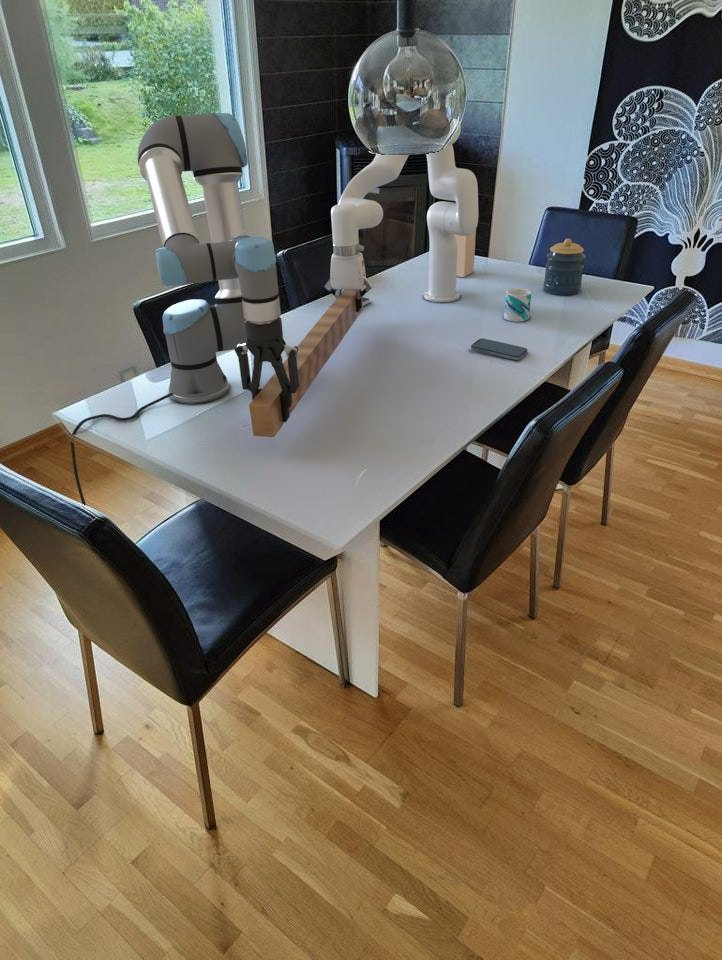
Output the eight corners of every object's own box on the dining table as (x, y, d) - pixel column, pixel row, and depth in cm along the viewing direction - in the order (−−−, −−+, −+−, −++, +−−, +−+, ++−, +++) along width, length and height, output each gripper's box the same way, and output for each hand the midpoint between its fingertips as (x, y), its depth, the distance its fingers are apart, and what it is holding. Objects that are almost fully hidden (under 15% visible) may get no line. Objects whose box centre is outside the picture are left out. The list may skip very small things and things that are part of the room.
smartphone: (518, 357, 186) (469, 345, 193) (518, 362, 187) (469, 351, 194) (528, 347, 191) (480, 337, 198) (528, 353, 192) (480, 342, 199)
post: (274, 437, 144) (270, 406, 140) (253, 435, 145) (248, 404, 141) (362, 309, 212) (361, 286, 208) (348, 309, 213) (347, 285, 209)
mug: (499, 319, 216) (501, 293, 211) (513, 308, 224) (516, 283, 220) (524, 323, 212) (526, 296, 207) (537, 311, 220) (540, 286, 216)
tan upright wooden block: (464, 277, 255) (467, 216, 243) (444, 274, 259) (446, 214, 248) (478, 268, 264) (481, 209, 252) (458, 266, 268) (461, 208, 256)
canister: (554, 297, 232) (561, 245, 222) (536, 286, 243) (541, 236, 233) (587, 292, 235) (595, 240, 225) (568, 282, 245) (574, 232, 236)
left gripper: (309, 313, 139) (317, 413, 151) (228, 309, 142) (242, 407, 155) (299, 326, 132) (308, 429, 145) (214, 322, 136) (230, 423, 149)
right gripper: (377, 246, 197) (379, 307, 207) (321, 246, 200) (326, 305, 210) (372, 253, 191) (374, 315, 201) (314, 252, 194) (319, 313, 204)
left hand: (274, 418), depth 150 cm, fingers closed on post, 5 cm apart
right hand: (349, 309), depth 205 cm, fingers closed on post, 4 cm apart
